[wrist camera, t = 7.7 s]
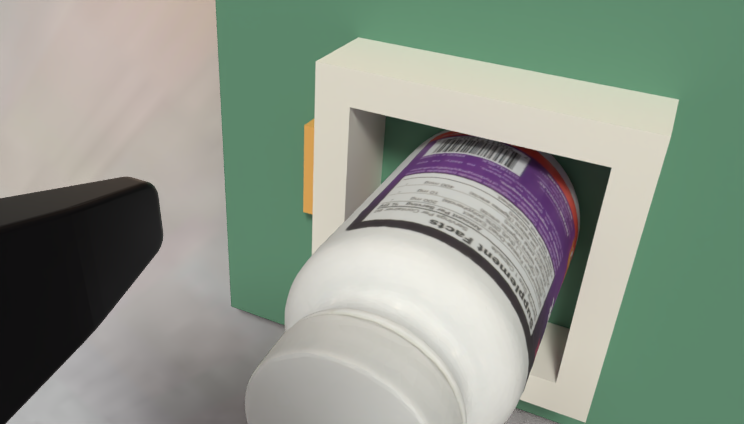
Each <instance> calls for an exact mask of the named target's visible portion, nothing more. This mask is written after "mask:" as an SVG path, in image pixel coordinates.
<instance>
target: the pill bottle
mask: <svg viewBox="0 0 744 424" xmlns="http://www.w3.org/2000/svg"><path fill="white" fill-rule="evenodd" d="M579 230H580V209H579V203H578V199H577V196H576V193H575V190H574V187H573V185H572V183H571V181H570V179H569V177H568V175H567V174H566V172H565V171H564V169H563V168H562V166H561V165H560V164H559V163H558V162H557V160H556V159H555V158H554V157H553V156H552V155H551V154H550V153H546V152H542V151H537V150H533V149H529V148H524V147H520V146H516V145H511V144H507V143H503V142H498V141H494V140H490V139H485V138H481V137H477V136H473V135H468V134H464V133H460V132H455V131H451V130H444V131H442V132H440V133H437V134H435V135H434V136H432V137H430V138H429V139H427V140H426V141H425V142H423V143H422V144H421V145H420V146H419V147H417V148H416V149H415V150H414V151H413V152H412V153H411V154H410V155H409V156H408V157H407V158H406V159H405V160H404V161H403V162H402V163H401V164H400V165H399V166H398V167H397V168H396V169H395V170H394V171H393V172H392V173H391V174H390V175H389V177H388V178H387V179H386V180H385V181H384V182H383V183H382V184H381V185H380V186H379V187H378V188H377V189H376V190H375V191H374V192H373V193H372V194H371V195H370V196H369V197H368V198H367V199H366V200H365V201H364V202H363V203H362V205H360V206H359V207H358V208H357V209H356V210H355V211H354V212H353V213H352V214H351V215H350V216H349V217H348V218H347V219H346V221H345V222H344V223H343V224H342V225H341V226H340V227H339V228H338V229H337V230H336V231H335V232H334V233H333V234H332V235H331V236H330V237H329V238H328V239H327V240H326V241H325V242H324V243H323V244H322V245H321V246H320V247H319V248H318V249H317V250H316V252H315V253H314V254H313V255H312V256H311V257H310V258H309V259H308V261H307V262H306V263H305V264H304V266H303V267H302V268H301V270H300V271H299V273H298V274H297V276H296V277H295V279H294V281H293V283H292V286H291V288H290V291H289V294H288V298H287V302H286V306H285V333H284V334H283V335H282V337H281V338H280V339H279V340H278V342H277V343H276V344H275V345H274V347H273V348H272V349H271V350H270V352H269V353H268V354H267V355H266V357H265V358H264V359H263V360H262V362H261V363H260V364H259V365H258V367H257V368H256V369H255V371H254V373H253V374H252V376H251V378H250V380H249V383H248V385H247V388H246V394H245V414H246V419H247V423H248V424H504V423H505V422H506V421H507V420H508V419H509V417H510V416H511V414H512V413H513V411H514V410H515V408H516V406H517V404H518V402H519V399H520V397H521V395H522V393H523V392H524V389H525V386H526V383H527V380H528V377H529V374H530V371H531V369H532V366H533V364H534V360H535V357H536V354H537V351H538V349H539V346H540V343H541V340H542V338H543V335H544V332H545V329H546V326H547V323H548V320H549V317H550V315H551V312H552V309H553V307H554V304H555V301H556V299H557V296H558V293H559V291H560V288H561V286H562V283H563V280H564V278H565V275H566V272H567V270H568V267H569V265H570V262H571V260H572V257H573V254H574V251H575V247H576V244H577V240H578V236H579Z"/></svg>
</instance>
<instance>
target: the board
mask: <svg viewBox="0 0 744 424" xmlns="http://www.w3.org/2000/svg"><path fill="white" fill-rule="evenodd" d="M216 18H217V38H218V57H219V76H220V96H221V115H222V135H223V154H224V173H225V193H226V212H227V232H228V251H229V270H230V290H231V306H232V307H235V308H238V309H240V310H243V311H246V312H249V313H252V314H254V315H257V316H260V317H263V318H266V319H268V320H271V321H274V322H277V323H280V324H282V325H285V306H286V302H287V298H288V294H289V291H290V288H291V286H292V283H293V281H294V279H295V277H296V276H297V274H298V273H299V271H300V270H301V268H302V267H303V266H304V264H305V263H306V262H307V261H308V259H309V258H310V257H311V256H312V255H313V254H314V253H315V252H316V250H317V249H318V248H319V247H320V246H321V245H322V244H323V243H324V242H325V241H326V240H327V239H328V238H329V237H330V236H331V235H332V234H333V233H334V232H335V231H336V230H337V229H338V228H339V227H340V226H341V225H342V224H343V223H344V222H345V221H346V219H347V218H348V217H349V216H350V215H351V214H352V213H353V212H354V211H355V210H356V209H357V208H358V207H359V206H360V205H362V203H363V202H364V201H365V200H366V199H367V198H368V197H369V196H370V195H371V194H372V193H373V192H374V191H375V190H376V189H377V188H378V187H379V186H380V185H381V184H382V183H383V182H384V181H385V180H386V179H387V178H388V177H389V175H390V174H391V173H392V172H393V171H394V170H395V169H396V168H397V167H398V166H399V165H400V164H401V163H402V162H403V161H404V160H405V159H406V158H407V157H408V156H409V155H410V154H411V153H412V152H413V151H414V150H415V149H416V148H417V147H419V146H420V145H421V144H422V143H423V142H425V141H426V140H427V139H429V138H430V137H432V136H434V135H435V134H437V133H440V132H442V131H444V130H451V131H455V132H460V133H464V134H468V135H473V136H477V137H481V138H485V139H490V140H494V141H498V142H503V143H507V144H511V145H516V146H520V147H524V148H529V149H533V150H537V151H542V152H546V153H550V154H551V155H552V156H553V157H554V158H555V159H556V160H557V162H558V163H559V164H560V165H561V166H562V168H563V169H564V171H565V172H566V174H567V175H568V177H569V179H570V181H571V183H572V185H573V187H574V190H575V193H576V196H577V199H578V203H579V209H580V230H579V236H578V240H577V244H576V247H575V251H574V254H573V257H572V260H571V262H570V265H569V267H568V270H567V272H566V275H565V278H564V280H563V283H562V286H561V288H560V291H559V293H558V296H557V299H556V301H555V304H554V307H553V309H552V312H551V315H550V317H549V320H548V323H547V326H546V329H545V332H544V335H543V338H542V340H541V343H540V346H539V349H538V351H537V354H536V357H535V360H534V364H533V366H532V369H531V371H530V374H529V377H528V380H527V383H526V386H525V389H524V392H523V393H522V395H521V397H520V399H519V402H518V404H517V406H516V408H518V409H521V410H524V411H526V412H529V413H532V414H535V415H538V416H541V417H543V418H546V419H549V420H552V421H555V422H557V423H560V424H744V0H216Z"/></svg>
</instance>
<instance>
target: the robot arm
mask: <svg viewBox="0 0 744 424" xmlns="http://www.w3.org/2000/svg"><path fill="white" fill-rule="evenodd" d="M162 241H163V228H162V220H161V213H160V205H159V197H158V192H157V190H156V188H155V187H154V186H153V185H152V184H151V183H149V182H146V181H142V180H139V179H136V178H132V177H120V178H114V179H108V180H103V181H97V182H91V183H86V184H80V185H74V186H69V187H63V188H57V189H51V190H46V191H40V192H34V193H29V194H23V195H17V196H12V197H6V198H0V424H6V423H7V422H8V421H9V420H10V418H11V417H12V416H13V415H14V414H15V413H16V412H17V411H18V410H19V409H20V408H21V407H22V406H23V405H24V404H25V403H26V402H27V401H28V400H29V399H30V398H31V397H32V396H33V395H34V394H35V393H36V392H37V391H38V389H39V388H40V387H41V386H42V385H43V384H44V383H45V382H46V381H47V380H48V379H49V378H50V377H51V376H52V375H53V374H54V373H55V372H56V371H57V370H58V369H59V368H60V367H61V366H62V365H63V364H64V363H65V361H66V360H67V359H68V358H69V357H70V356H71V355H72V354H73V353H74V352H75V351H76V350H77V349H78V348H79V347H80V346H81V345H82V344H83V343H84V342H85V341H86V340H87V338H88V337H89V336H90V335H91V334H92V333H93V332H94V331H95V330H96V329H97V327H98V326H99V325H100V324H101V323H102V321H103V320H104V319H105V318H106V317H107V315H108V314H109V313H110V311H111V310H112V309H113V308H114V306H115V305H116V304H117V303H118V301H119V300H120V299H121V298H122V296H123V295H124V294H125V293H126V291H127V290H128V289H129V288H130V286H131V285H132V284H133V283H134V281H135V280H136V279H137V278H138V276H139V275H140V274H141V272H142V271H143V270H144V269H145V267H146V266H147V265H148V264H149V262H150V261H151V260H152V259H153V257H154V256H155V255H156V254H157V252H158V251H159V249H160V247H161V244H162Z"/></svg>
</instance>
